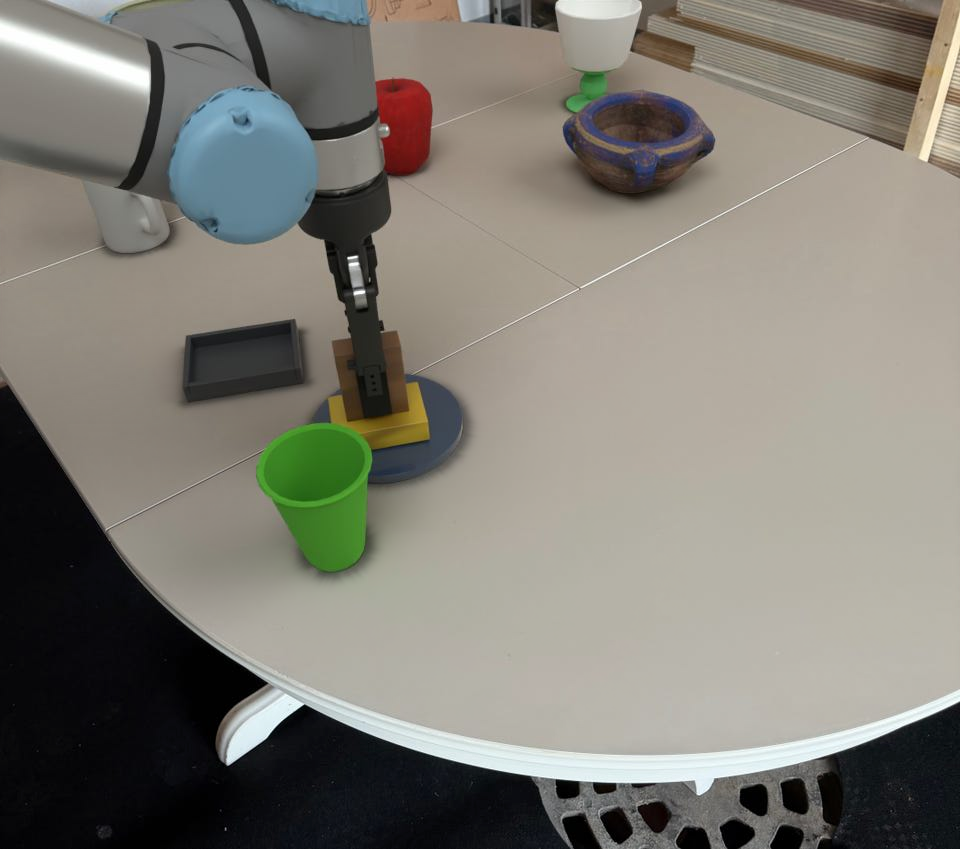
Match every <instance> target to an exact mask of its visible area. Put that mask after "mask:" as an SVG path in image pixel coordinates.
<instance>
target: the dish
mask: <svg viewBox="0 0 960 849" xmlns="http://www.w3.org/2000/svg"><path fill="white" fill-rule="evenodd" d="M298 328H299V327H298V324H297V319H296V318H291V319H284V320H283V319H282V320H278V321H271V322H264V323H259V324H251V325H244V326H238V327H233V328H225V329H219V330H214V331H207V332H200V333H194V334H193V333H192V334H187V335H185V342H184V355H183V356H184V358H183V370H182V371H183V372H182V386H181V387H182V390H183V393H184V395H185V398H186V401H187V402H188V403H190V402H197V401H202V400H209V399H214V398H221V397H227V396H233V395H238V394H239V395H240V394H245V393H250V392H257V391H263V390H269V389H275V388H282V387H286V386H287V387H288V386H292V385H293V386H294V385H299V384H300V385H301V384H304V382H305V380H304V372H303V363H302V362H303V361H302V355H301V354H302V353H301V343H300V342H301V341H300V334H299V330H298Z"/></svg>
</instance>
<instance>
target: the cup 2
mask: <svg viewBox="0 0 960 849" xmlns="http://www.w3.org/2000/svg"><path fill="white" fill-rule="evenodd" d="M642 10H643V6H642V1H640V0H557V1H556V2H555V5H554V11H555V16H556V21H557V22H556V23H557V29H558V35H559V41H560V48H561V53H562V58H563V60H564V61H565V63H566V65H568V66H569V67H570V68H571V69H573V70H575V71H577V72H579V73H582V76H581V78H580V82H579V88H580V92H581V93H578V94H575V95H572V96H570V97H569V98H568V99H567V100H566V101H565V107H566V108H567V109H568V110H569V111H570V112H573V113H574V114H576V113H577V112H578V111H579V110H580V109H581V108H582V107H583V106H584V105H586V104H587V103H589V102H591V101H593V100H595V99H597V98H599V97H602V96H605V95H608V94H607V93H605V92H606V91H607V88H608V79H607V76H606V75H605V74H608V73H611V72H613V71H615V70H617V69H619V68H620V67H622V66H623V65H624V64H625V62H626V61H627V60H628V58H629V56H630V52H631V48H632V45H633V41H634V39H635V38H634V37H635V34H636V31H637V27H638V23H639V20H640V18H641V17H640V16H641V13H642Z"/></svg>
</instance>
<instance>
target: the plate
mask: <svg viewBox="0 0 960 849" xmlns="http://www.w3.org/2000/svg"><path fill="white" fill-rule="evenodd" d="M405 381H406V384H408V383H413V382H418V385H419V389H420V393H421V397H422V400H423V404H424V408H425V412H426V415H427V419H428V426H429V435H430V439H429V440H424V441H419V442H413V443H408V444H402V445H397V446H391V447H386V448H380V449H375V450H371V452H372V464H371V468H370V471H369V473H368V481H367V483H370V484H390V483H397V482H398V483H399V482H403V481H406V480H410V479H413V478H416V477H419V476H422V475H424V474H426V473H428V472H430V471H432V470H434V469H435V468H437V467H438V466H440V465H441V464H442V463H444V462H445V461H446V460H447V459H448V458H449V457H451V455H452V454H453V452H454V451H455V450H456V449H457V447H458V445H459V444H460V441H461V438H462V436H463V429H464V420H463V419H464V418H463V412H462V408H461V405H460V402H458V399H457V397H455V395H454V394H453V393H452V392H451V391H450V390H448V389H447V388H446V387H445V386H444V385H442V384H440V383H439V382H437V381H435V380H432V379H430V378H427V377H424V376H421V375H415V374H411V373H405ZM338 395H342V394H341V389H340V388H339V389H337V390H336V391H335V392H333V394H331V395H330V396H329V397H332V396H338ZM315 423H331V417H330V410H329V402H328V398H327V399H326V400H325V401H324V402H323V403H322V404H321V406H320V407H319V409H318V410H317V412H316V414H315V417H314V419H313V422H312V424H315Z"/></svg>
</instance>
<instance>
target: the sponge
mask: <svg viewBox="0 0 960 849" xmlns="http://www.w3.org/2000/svg"><path fill="white" fill-rule="evenodd" d="M381 338H382V345H383V353H384V358H385V362H386V363H387V367H386V369H387V370H386V374H387V381H388V387H389V394H390V401H391V408H392V414H387V415H381V416H376V417H370V418H364V416H363V410H362V405H361V399H360V394H359V388H358V383H357V377H356V372H355V370H349V371H348V366H347V360H353V359H355V356H354V351H353V345H352V340H351V337H348V338H342V339H336V340H332V341H331V346H332V352H333V359H334V364H335V368H336V373H337V378H338V383H339V386H340V387H339V389H341V394H342V395H338V396H332V397H330V396H328V397H327V399H328V402H329V410H330V417H331V424H339V425H342V426H345V427H348V428H351V429H352V430H354V431H356V432H357V433H359V434H360V435H361V436H362V437H363V438H364V439H365V440H366V441H367V443H368V445H369V447H370V449H371V450H375V449H380V448H386V447H391V446H397V445H402V444H408V443H413V442H419V441H424V440H429V439H430V435H429V426H428V419H427V415H426V412H425V408H424V404H423V400H422V397H421V393H420V389H419V385H418V382H413V383H408V384H406V381H405V374H406V373H405V367H404V366H405V365H404V359H403V352H402V351H403V350H402V345H401V341H400V337H399V333H398V330H397V329H396V330H390V331H382V332H381Z"/></svg>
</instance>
